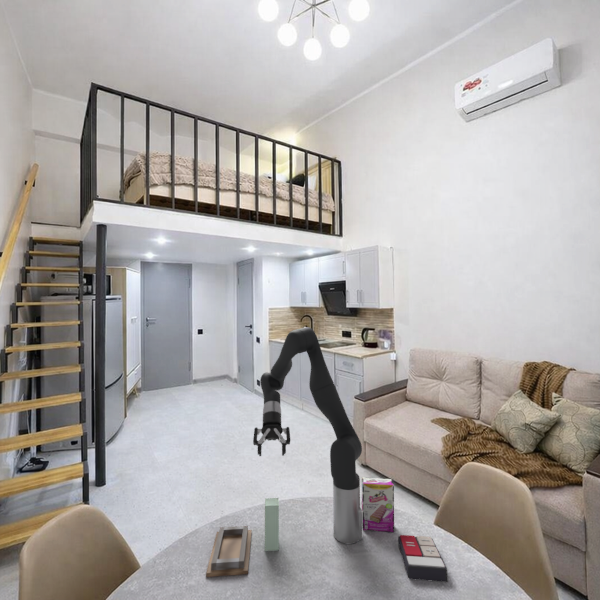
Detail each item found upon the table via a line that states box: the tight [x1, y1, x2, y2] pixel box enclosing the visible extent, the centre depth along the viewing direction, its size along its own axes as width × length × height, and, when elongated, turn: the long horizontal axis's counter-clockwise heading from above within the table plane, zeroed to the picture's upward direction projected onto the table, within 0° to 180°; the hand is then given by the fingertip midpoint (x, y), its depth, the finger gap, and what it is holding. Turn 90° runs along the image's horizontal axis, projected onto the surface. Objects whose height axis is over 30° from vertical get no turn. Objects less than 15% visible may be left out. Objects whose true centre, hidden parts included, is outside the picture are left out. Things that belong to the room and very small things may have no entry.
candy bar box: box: [361, 477, 395, 533], centre depth 118 cm, size 11×5×16 cm, turn 84°
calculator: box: [397, 534, 448, 583], centre depth 101 cm, size 11×4×15 cm
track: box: [205, 525, 253, 578], centre depth 105 cm, size 12×19×3 cm, turn 5°
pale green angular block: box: [264, 497, 280, 552], centre depth 108 cm, size 4×4×14 cm
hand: (271, 455), depth 122 cm, fingers open, 8 cm apart
